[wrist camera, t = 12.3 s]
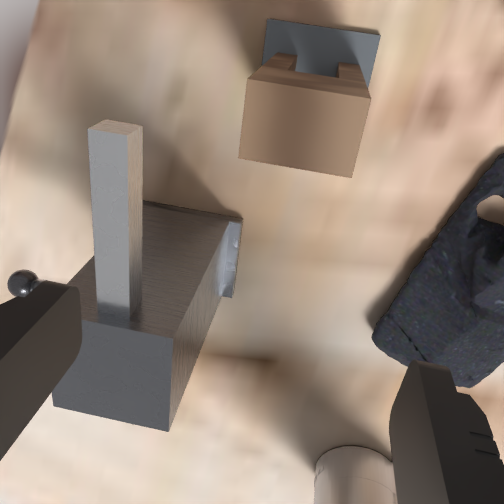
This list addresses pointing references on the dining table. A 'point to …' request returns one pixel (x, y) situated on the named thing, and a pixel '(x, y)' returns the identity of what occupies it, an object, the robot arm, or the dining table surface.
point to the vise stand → (140, 289)
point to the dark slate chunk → (454, 295)
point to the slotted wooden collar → (304, 117)
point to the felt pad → (321, 47)
